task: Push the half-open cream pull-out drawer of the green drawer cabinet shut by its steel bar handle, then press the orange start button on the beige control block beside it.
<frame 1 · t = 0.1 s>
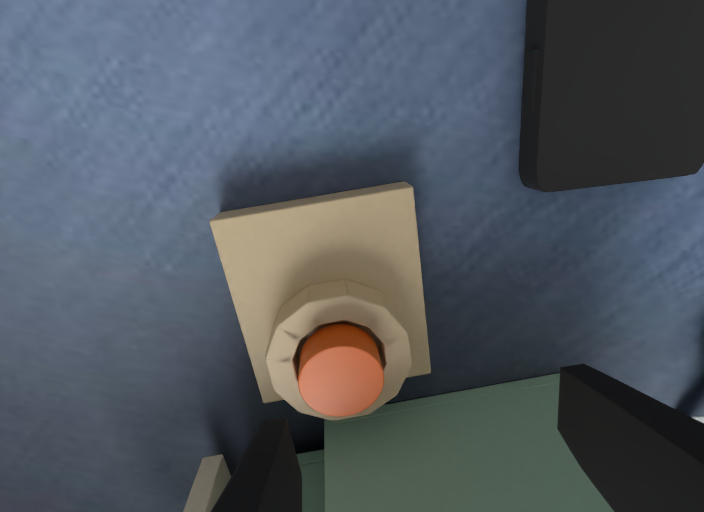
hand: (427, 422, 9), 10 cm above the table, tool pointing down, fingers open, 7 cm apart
green drawer cabinet: (450, 466, 24), on the table
control block: (330, 290, 19), on the table
start button: (340, 369, 16), point 4 cm above the table, slide at 0.1 cm
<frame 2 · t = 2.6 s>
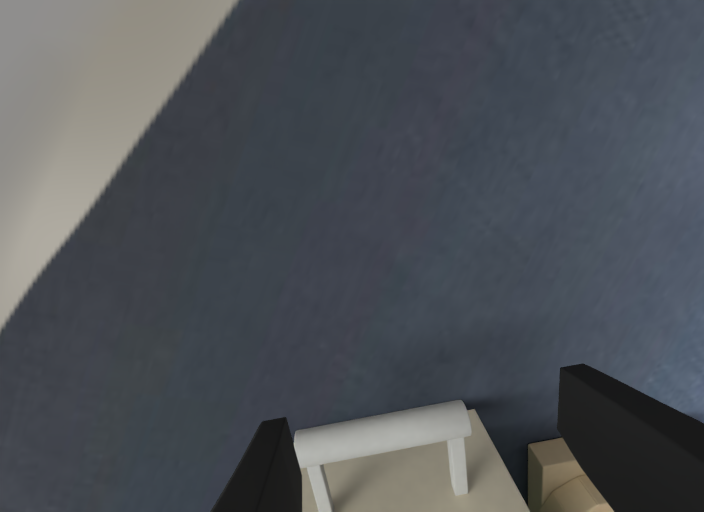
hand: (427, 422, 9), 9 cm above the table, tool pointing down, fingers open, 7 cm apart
control block: (599, 479, 25), on the table
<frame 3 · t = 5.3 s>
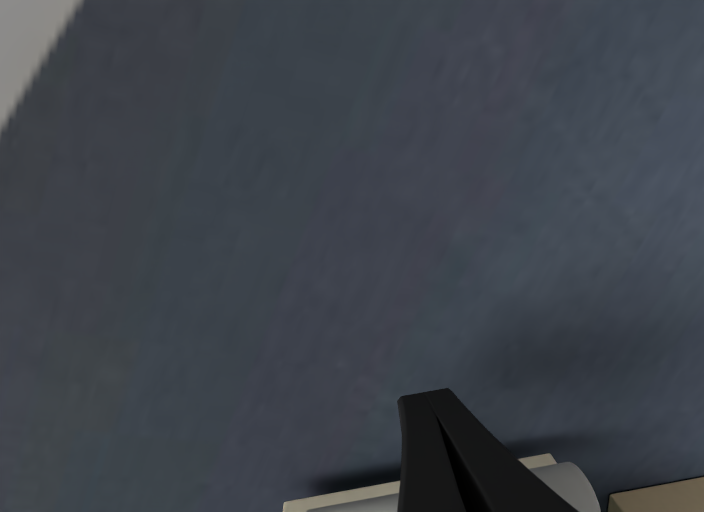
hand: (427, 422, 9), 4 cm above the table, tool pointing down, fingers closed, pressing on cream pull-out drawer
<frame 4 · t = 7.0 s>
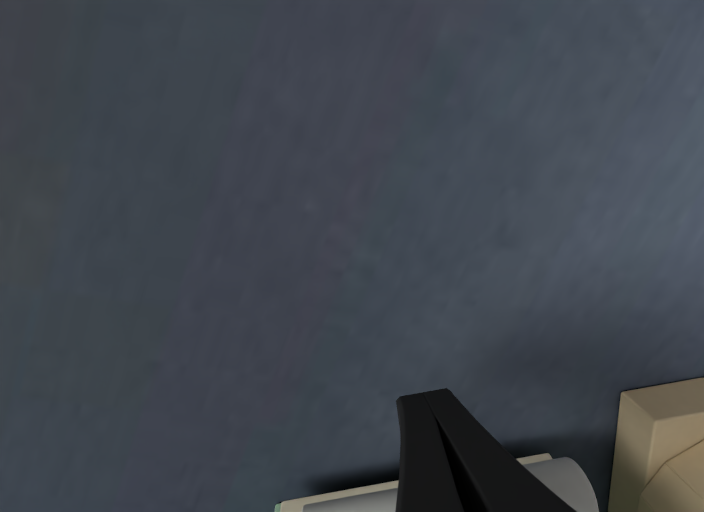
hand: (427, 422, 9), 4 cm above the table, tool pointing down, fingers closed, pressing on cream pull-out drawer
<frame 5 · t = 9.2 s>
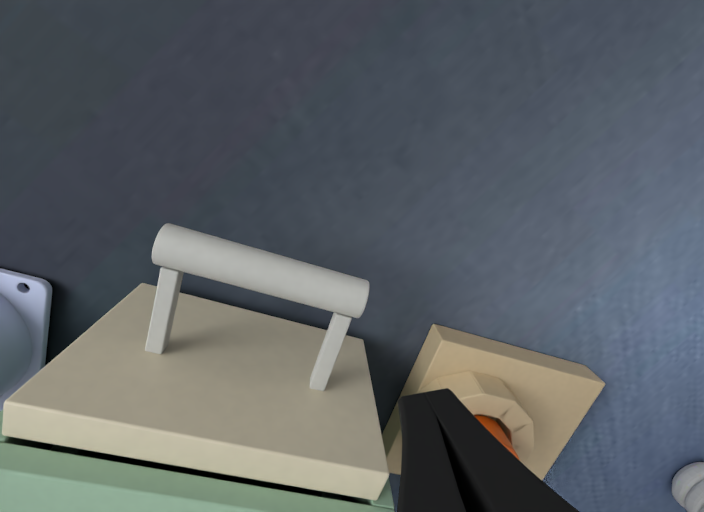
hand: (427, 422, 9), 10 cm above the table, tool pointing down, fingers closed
green drawer cabinet: (224, 430, 21), on the table
light bulb: (687, 473, 26), on the table
control block: (478, 406, 22), on the table
cream pull-out drawer: (217, 445, 15), point 5 cm above the table, slide at 0.0 cm, touching green drawer cabinet
start button: (475, 457, 18), point 4 cm above the table, slide at 0.1 cm
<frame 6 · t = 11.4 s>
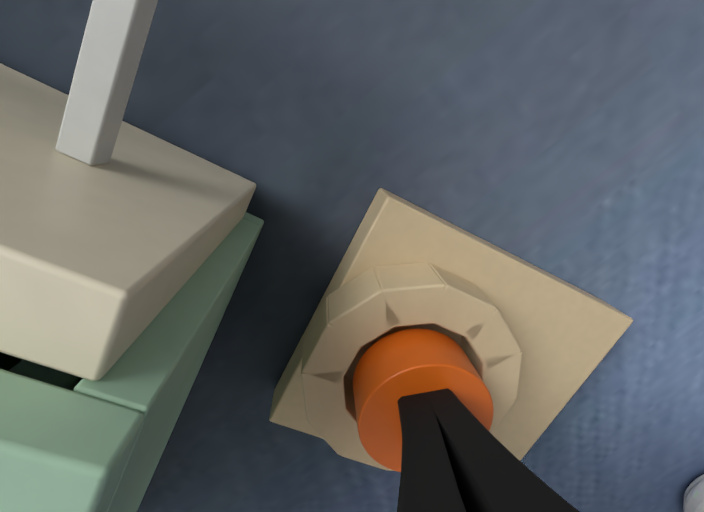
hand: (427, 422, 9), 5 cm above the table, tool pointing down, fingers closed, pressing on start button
green drawer cabinet: (24, 328, 13), on the table
control block: (436, 344, 14), on the table
start button: (418, 399, 10), point 4 cm above the table, slide at 0.1 cm, touching gripper
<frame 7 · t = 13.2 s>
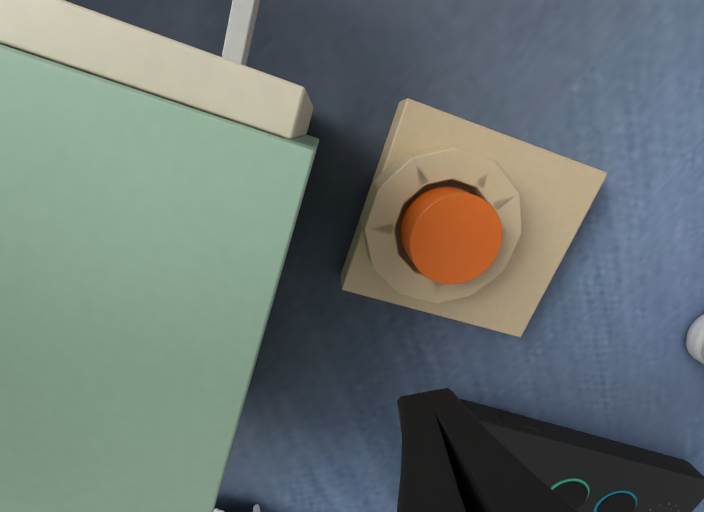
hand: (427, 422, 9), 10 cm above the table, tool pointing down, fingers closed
green drawer cabinet: (158, 247, 18), on the table
smart home device: (548, 472, 25), on the table
control block: (458, 224, 19), on the table
cream pull-out drawer: (117, 179, 12), point 5 cm above the table, slide at 0.0 cm, touching green drawer cabinet
start button: (449, 234, 15), point 4 cm above the table, slide at 0.1 cm
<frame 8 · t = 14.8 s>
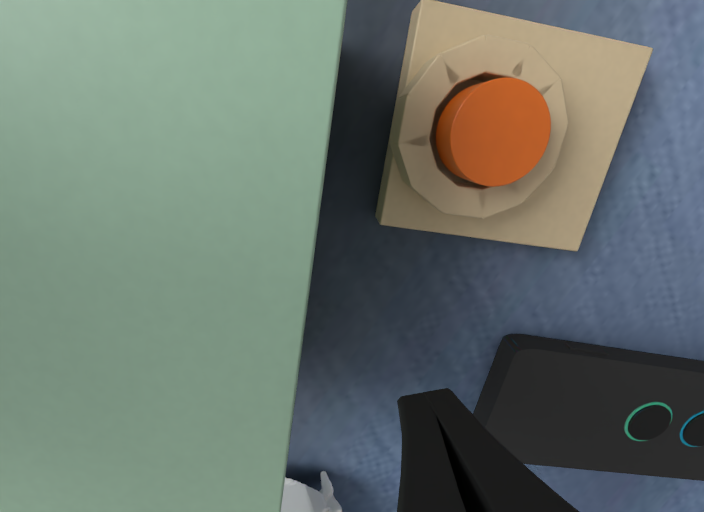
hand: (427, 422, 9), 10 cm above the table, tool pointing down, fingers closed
green drawer cabinet: (187, 211, 17), on the table
smart home device: (622, 403, 24), on the table
control block: (493, 139, 17), on the table
start button: (490, 134, 13), point 4 cm above the table, slide at 0.1 cm
white pig figurine: (224, 496, 24), on the table
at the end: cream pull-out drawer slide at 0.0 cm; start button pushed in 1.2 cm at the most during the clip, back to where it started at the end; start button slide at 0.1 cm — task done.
